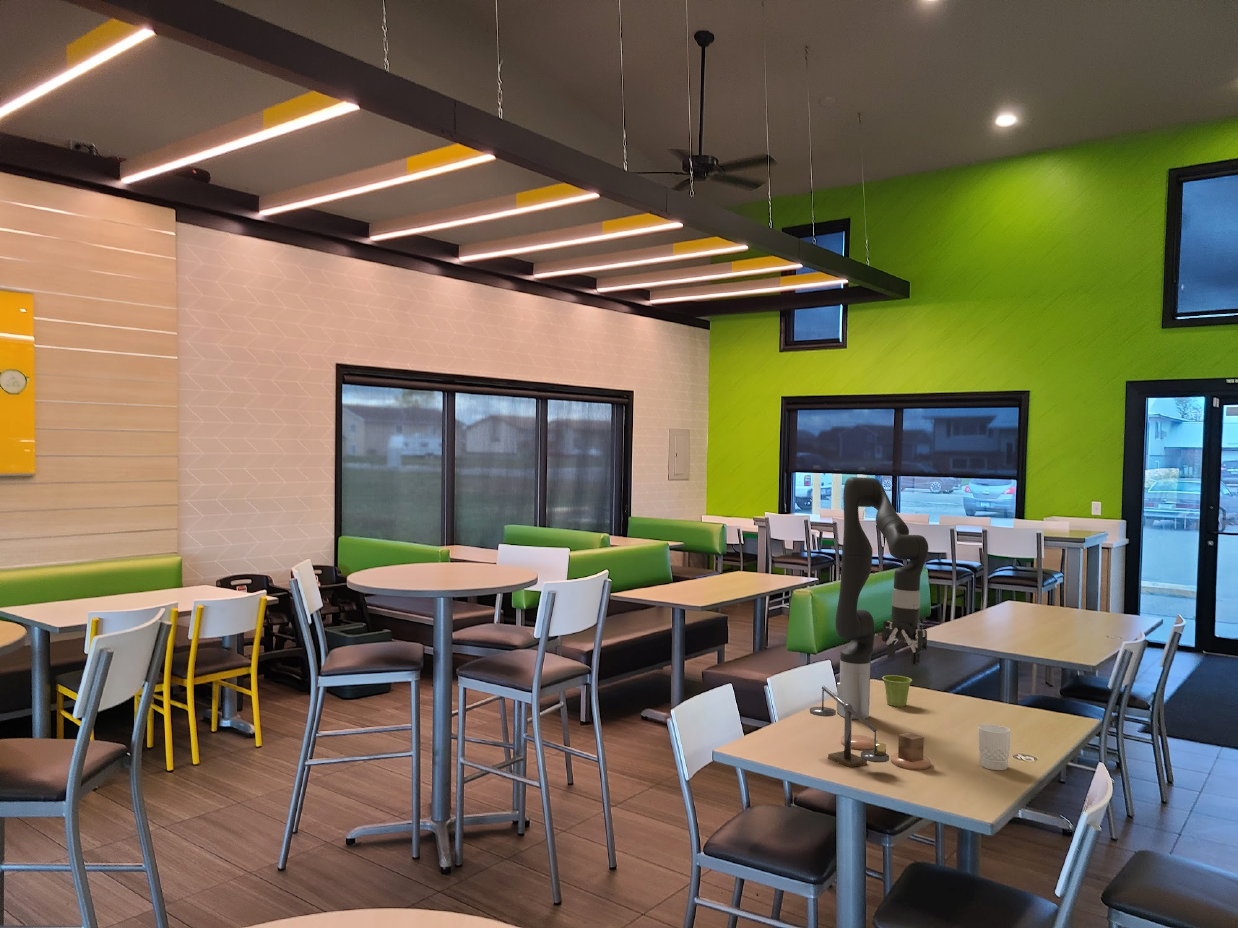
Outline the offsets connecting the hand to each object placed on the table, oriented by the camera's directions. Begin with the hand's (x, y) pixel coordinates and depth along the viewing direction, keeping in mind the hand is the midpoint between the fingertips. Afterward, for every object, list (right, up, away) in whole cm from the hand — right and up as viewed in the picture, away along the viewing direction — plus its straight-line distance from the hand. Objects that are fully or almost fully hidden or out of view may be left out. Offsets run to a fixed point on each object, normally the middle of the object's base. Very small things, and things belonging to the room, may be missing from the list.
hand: (902, 661), depth 248 cm
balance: (-20, -23, -17) cm, 35 cm away
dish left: (-13, -23, -2) cm, 26 cm away
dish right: (-4, -23, -17) cm, 29 cm away
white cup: (+18, -24, -18) cm, 35 cm away
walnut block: (-4, -22, -17) cm, 28 cm away
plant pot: (+12, -24, +43) cm, 50 cm away
